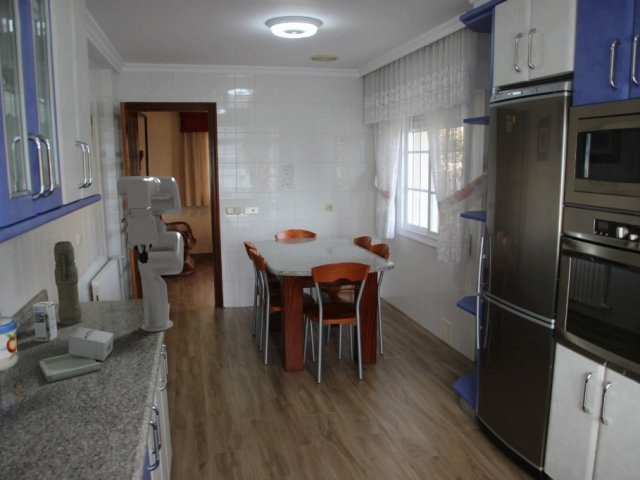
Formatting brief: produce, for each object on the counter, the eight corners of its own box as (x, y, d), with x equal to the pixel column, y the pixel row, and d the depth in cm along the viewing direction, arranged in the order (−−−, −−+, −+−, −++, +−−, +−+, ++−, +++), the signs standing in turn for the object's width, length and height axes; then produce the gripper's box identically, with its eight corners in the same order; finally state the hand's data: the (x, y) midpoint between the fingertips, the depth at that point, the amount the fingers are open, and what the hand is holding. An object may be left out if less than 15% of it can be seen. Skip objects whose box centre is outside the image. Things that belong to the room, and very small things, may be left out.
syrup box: (35, 341, 200) (31, 305, 198) (44, 336, 206) (40, 301, 204) (49, 341, 200) (45, 305, 197) (58, 336, 206) (54, 301, 203)
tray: (39, 366, 177) (38, 360, 176) (89, 354, 186) (88, 349, 186) (48, 382, 164) (47, 376, 164) (101, 369, 174) (100, 363, 173)
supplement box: (105, 343, 178) (68, 336, 178) (103, 361, 181) (67, 354, 180) (114, 332, 185) (78, 325, 185) (112, 350, 188) (77, 343, 187)
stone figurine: (81, 316, 230) (74, 239, 224) (82, 324, 219) (75, 243, 213) (59, 319, 226) (51, 240, 220) (59, 327, 216) (50, 245, 210)
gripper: (121, 215, 177) (125, 267, 180) (164, 211, 186) (167, 261, 189) (115, 213, 183) (119, 264, 186) (157, 210, 192) (160, 258, 195)
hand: (143, 262), depth 188 cm, fingers closed
